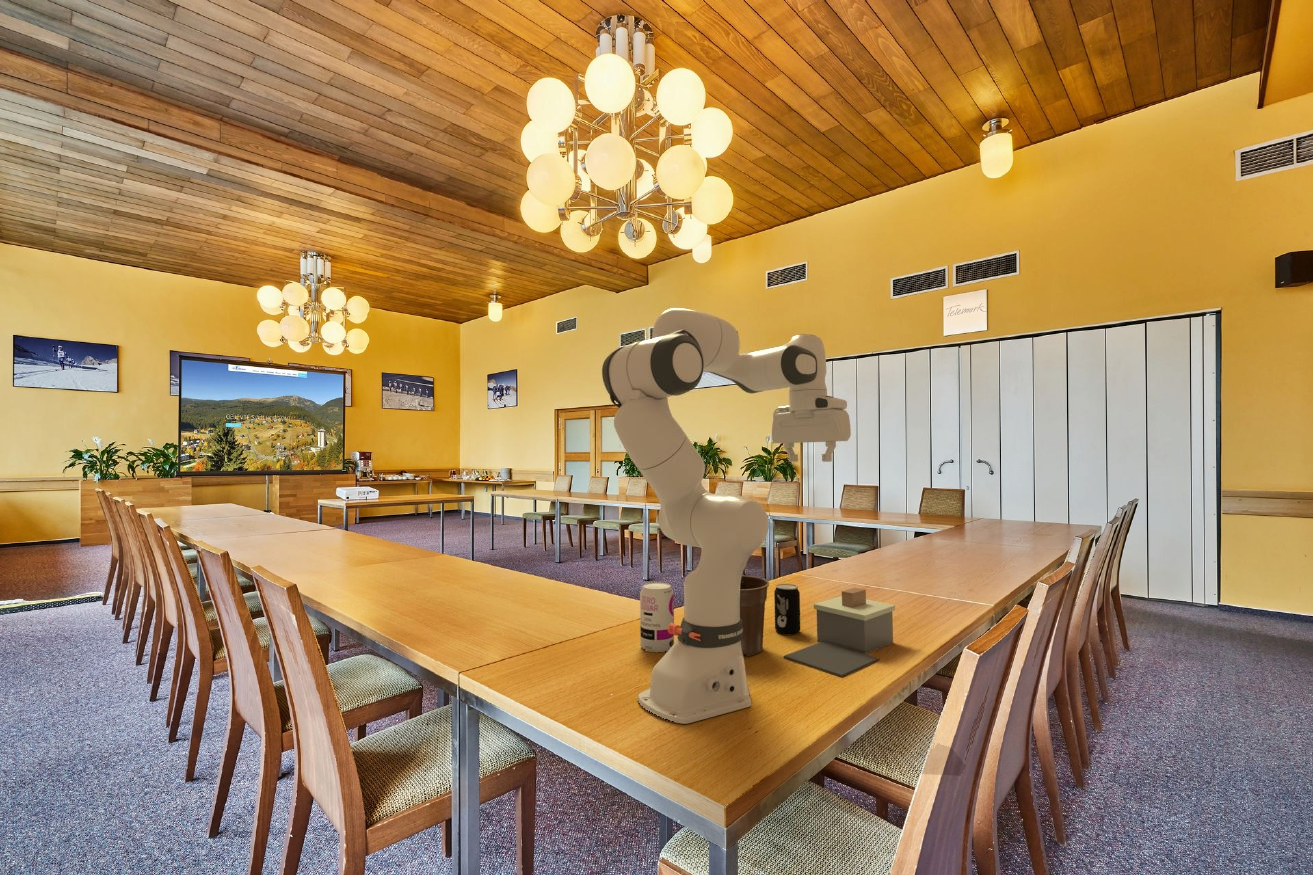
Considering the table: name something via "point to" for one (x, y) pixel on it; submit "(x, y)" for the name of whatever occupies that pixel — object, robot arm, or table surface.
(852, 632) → the storage box
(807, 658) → the rubber mat
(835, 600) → the lid
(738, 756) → the table surface
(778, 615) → the beverage can
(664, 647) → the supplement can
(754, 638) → the plant pot
